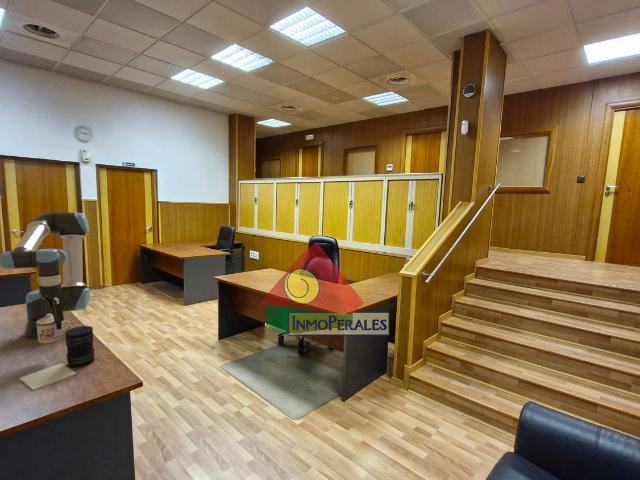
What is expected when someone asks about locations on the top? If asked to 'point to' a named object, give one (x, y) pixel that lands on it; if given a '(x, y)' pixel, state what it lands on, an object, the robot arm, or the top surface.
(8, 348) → the top surface
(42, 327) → the teacup with lid
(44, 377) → the coaster
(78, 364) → the dark blue canister
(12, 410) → the top surface
